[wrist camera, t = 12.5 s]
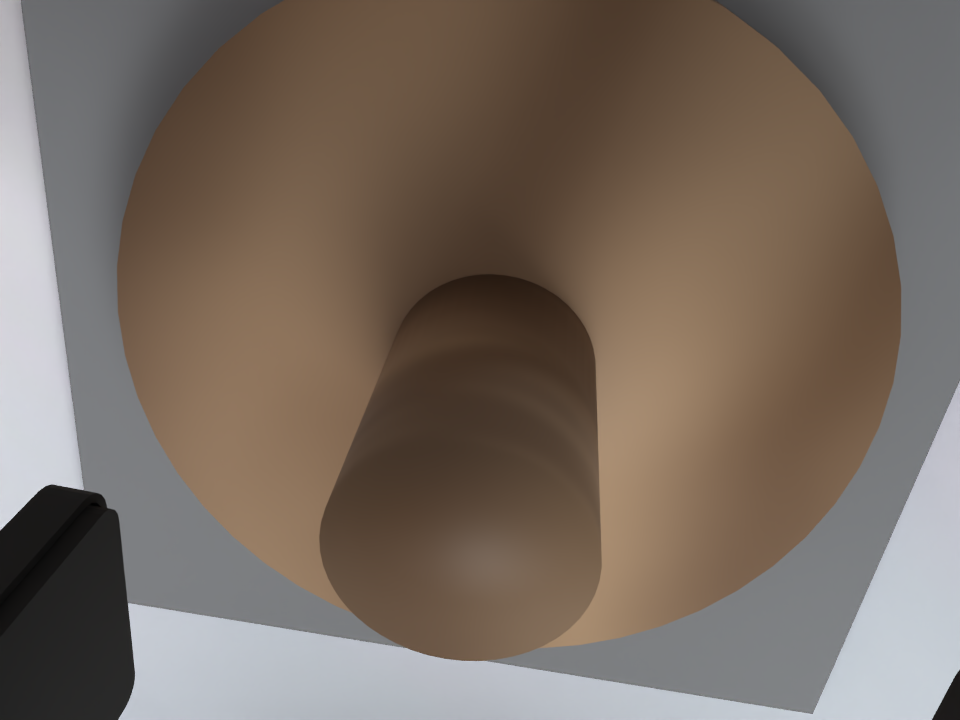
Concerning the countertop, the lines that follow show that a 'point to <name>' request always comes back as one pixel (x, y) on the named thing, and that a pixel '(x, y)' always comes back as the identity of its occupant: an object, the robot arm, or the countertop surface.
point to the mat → (631, 659)
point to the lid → (509, 310)
